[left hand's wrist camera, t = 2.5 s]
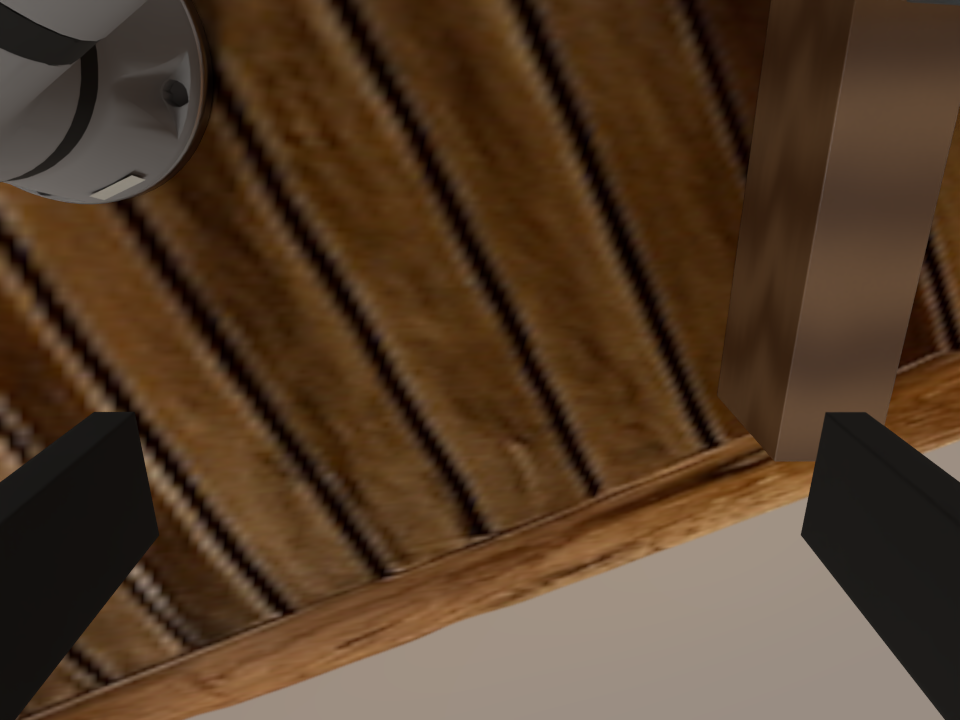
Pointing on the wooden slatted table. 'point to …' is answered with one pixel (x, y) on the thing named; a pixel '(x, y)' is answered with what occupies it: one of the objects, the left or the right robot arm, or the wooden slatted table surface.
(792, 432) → the bar
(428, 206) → the wooden slatted table surface
